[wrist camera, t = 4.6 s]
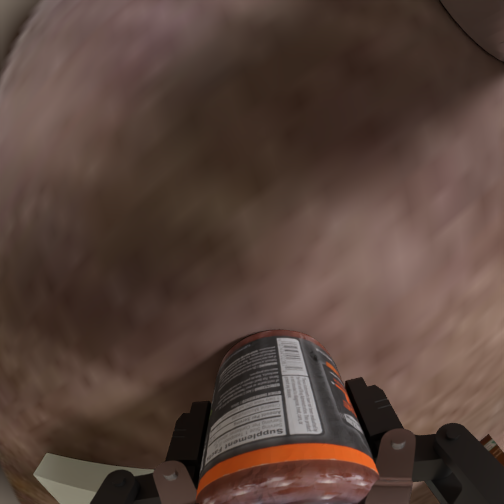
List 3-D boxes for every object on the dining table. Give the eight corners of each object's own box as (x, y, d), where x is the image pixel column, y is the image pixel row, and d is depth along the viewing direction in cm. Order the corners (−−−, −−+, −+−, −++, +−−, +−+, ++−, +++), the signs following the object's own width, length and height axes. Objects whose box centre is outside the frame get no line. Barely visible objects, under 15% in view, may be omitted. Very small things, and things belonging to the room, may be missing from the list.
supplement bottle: (344, 395, 15) (407, 575, 4) (243, 426, 16) (237, 607, 5) (316, 305, 14) (416, 535, 3) (197, 345, 14) (134, 569, 3)
